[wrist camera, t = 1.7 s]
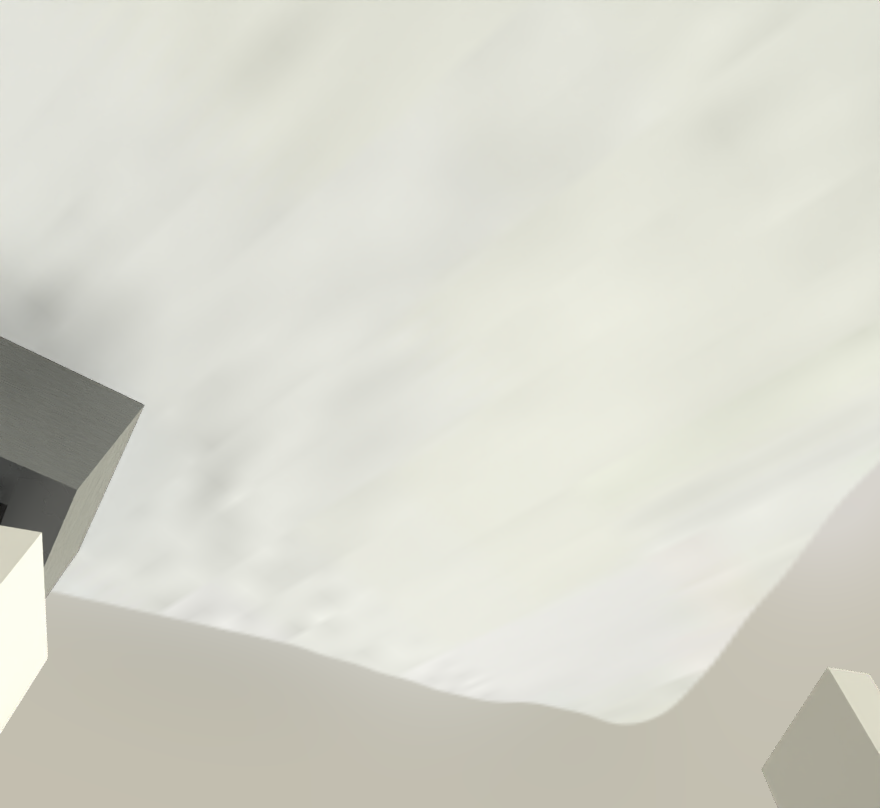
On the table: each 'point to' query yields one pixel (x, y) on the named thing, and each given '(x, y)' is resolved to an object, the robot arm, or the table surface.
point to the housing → (56, 450)
